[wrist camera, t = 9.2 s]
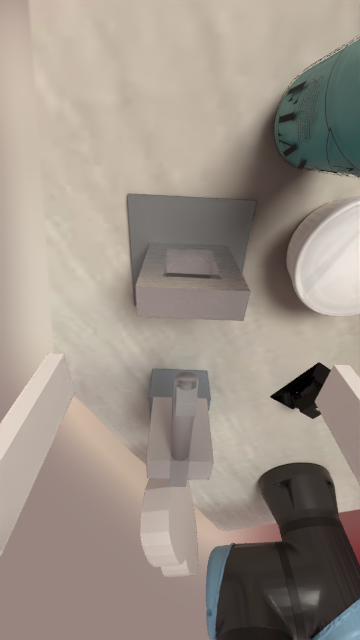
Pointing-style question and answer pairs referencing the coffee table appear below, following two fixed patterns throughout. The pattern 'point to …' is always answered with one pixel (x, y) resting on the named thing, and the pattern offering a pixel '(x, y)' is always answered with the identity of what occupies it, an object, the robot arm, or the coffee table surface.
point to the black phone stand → (304, 390)
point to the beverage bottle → (323, 115)
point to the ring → (191, 283)
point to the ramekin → (328, 258)
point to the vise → (179, 427)
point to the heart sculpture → (169, 528)
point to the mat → (187, 226)
